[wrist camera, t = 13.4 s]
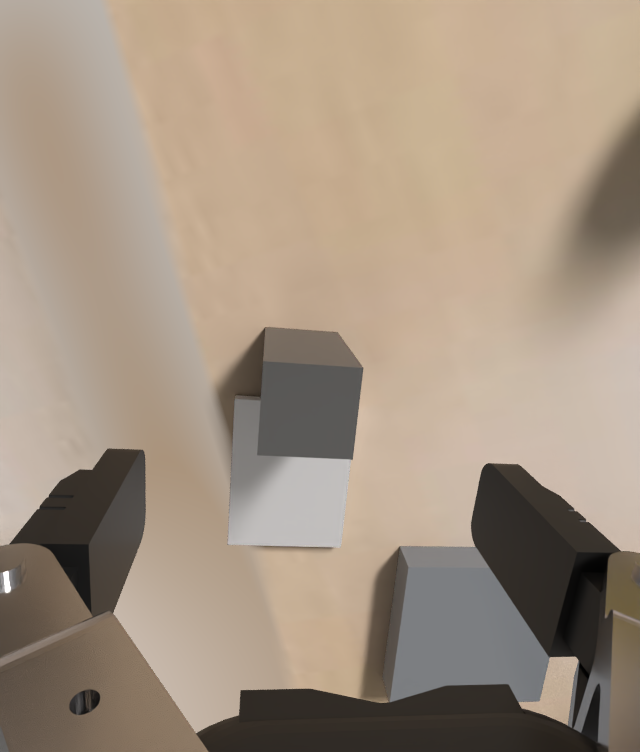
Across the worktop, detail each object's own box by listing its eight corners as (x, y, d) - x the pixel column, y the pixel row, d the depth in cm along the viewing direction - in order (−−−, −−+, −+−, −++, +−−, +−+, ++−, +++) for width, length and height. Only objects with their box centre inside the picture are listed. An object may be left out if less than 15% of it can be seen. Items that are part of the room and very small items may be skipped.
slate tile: (398, 543, 28) (381, 673, 30) (408, 567, 26) (389, 704, 28) (549, 545, 29) (521, 670, 31) (570, 568, 27) (539, 701, 29)
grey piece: (228, 538, 27) (213, 639, 20) (238, 325, 24) (226, 358, 17) (339, 540, 27) (361, 639, 21) (362, 334, 24) (397, 370, 18)
